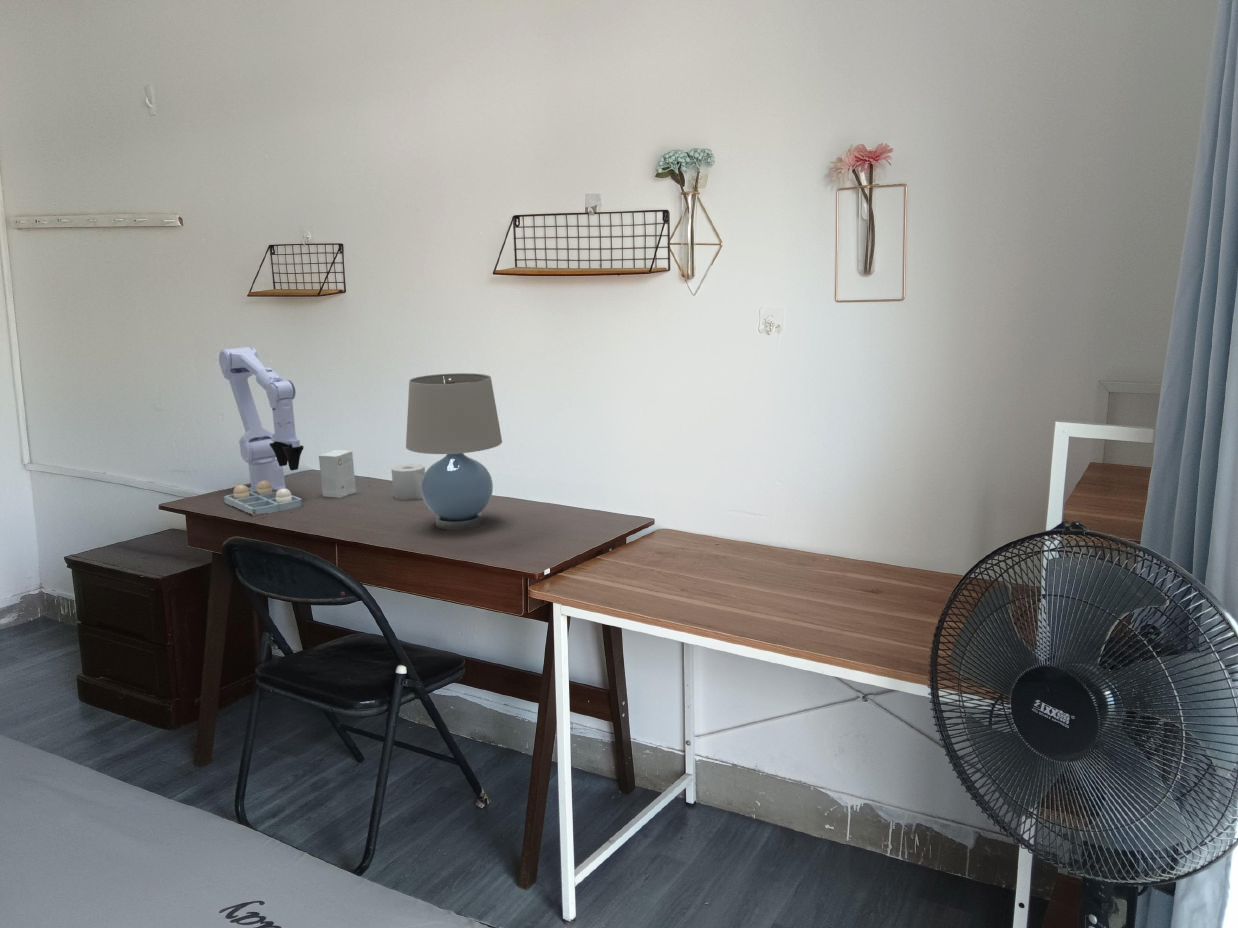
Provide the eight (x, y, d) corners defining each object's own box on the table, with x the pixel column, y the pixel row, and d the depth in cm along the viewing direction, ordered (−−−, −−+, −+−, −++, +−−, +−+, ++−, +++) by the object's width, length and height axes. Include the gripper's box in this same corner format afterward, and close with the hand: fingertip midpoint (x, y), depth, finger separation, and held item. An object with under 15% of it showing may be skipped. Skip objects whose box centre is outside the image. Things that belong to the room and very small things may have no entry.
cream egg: (288, 503, 269) (287, 485, 268) (294, 506, 266) (293, 488, 265) (274, 506, 267) (272, 488, 265) (280, 509, 263) (278, 491, 262)
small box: (339, 491, 284) (335, 449, 281) (356, 492, 282) (353, 450, 279) (322, 498, 277) (318, 455, 274) (340, 499, 275) (336, 456, 272)
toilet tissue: (440, 497, 275) (438, 468, 273) (393, 501, 272) (391, 472, 270) (438, 489, 283) (436, 462, 281) (393, 493, 280) (391, 465, 278)
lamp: (405, 517, 255) (394, 375, 246) (494, 506, 263) (487, 369, 254) (419, 542, 232) (408, 387, 223) (516, 530, 240) (509, 380, 232)
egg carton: (272, 494, 282) (271, 486, 281) (303, 507, 266) (302, 499, 266) (224, 504, 272) (223, 496, 271) (253, 518, 257) (252, 509, 256)
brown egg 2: (269, 495, 279) (267, 478, 278) (275, 497, 276) (273, 480, 275) (255, 498, 276) (253, 480, 275) (261, 500, 273) (259, 483, 272)
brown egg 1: (246, 499, 275) (244, 482, 273) (252, 502, 272) (250, 484, 270) (232, 502, 272) (230, 484, 271) (238, 505, 269) (235, 487, 268)
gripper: (260, 421, 274) (265, 466, 277) (281, 427, 264) (285, 474, 267) (283, 417, 279) (288, 462, 282) (304, 423, 269) (309, 469, 272)
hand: (288, 467), depth 275 cm, fingers open, 7 cm apart
